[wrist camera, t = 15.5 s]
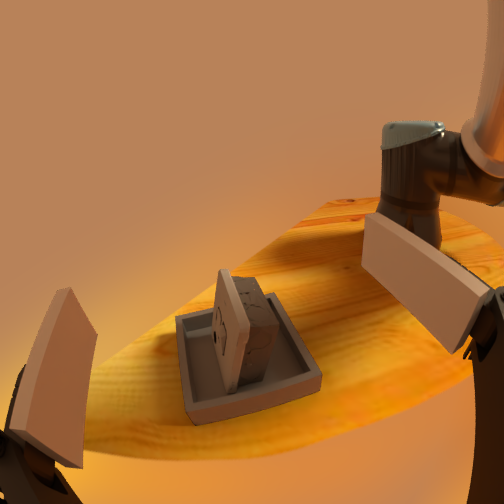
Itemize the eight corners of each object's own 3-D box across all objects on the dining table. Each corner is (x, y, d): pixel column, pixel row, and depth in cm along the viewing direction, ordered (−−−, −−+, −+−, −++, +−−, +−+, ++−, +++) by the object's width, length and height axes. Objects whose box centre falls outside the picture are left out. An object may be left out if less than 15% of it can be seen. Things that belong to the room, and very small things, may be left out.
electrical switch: (211, 335, 32) (202, 268, 27) (253, 327, 33) (251, 261, 28) (227, 398, 24) (217, 332, 19) (278, 386, 25) (284, 319, 20)
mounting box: (275, 310, 36) (274, 292, 34) (319, 390, 24) (322, 374, 22) (181, 333, 33) (175, 316, 32) (194, 425, 22) (185, 412, 20)
